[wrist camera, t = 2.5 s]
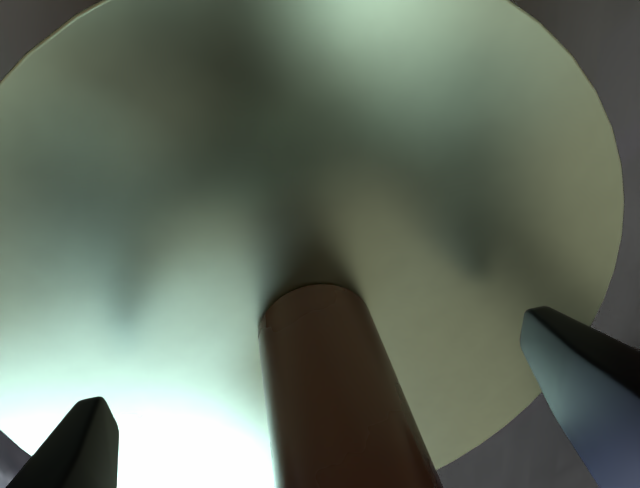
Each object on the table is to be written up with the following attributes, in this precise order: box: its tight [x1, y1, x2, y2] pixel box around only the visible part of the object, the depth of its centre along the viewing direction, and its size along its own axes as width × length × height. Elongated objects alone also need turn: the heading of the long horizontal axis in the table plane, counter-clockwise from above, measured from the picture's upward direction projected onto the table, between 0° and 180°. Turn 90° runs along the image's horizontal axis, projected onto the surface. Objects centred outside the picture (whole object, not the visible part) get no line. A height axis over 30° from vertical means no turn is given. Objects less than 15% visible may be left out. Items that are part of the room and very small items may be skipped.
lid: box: [0, 0, 624, 488], centre depth 9 cm, size 14×14×6 cm
